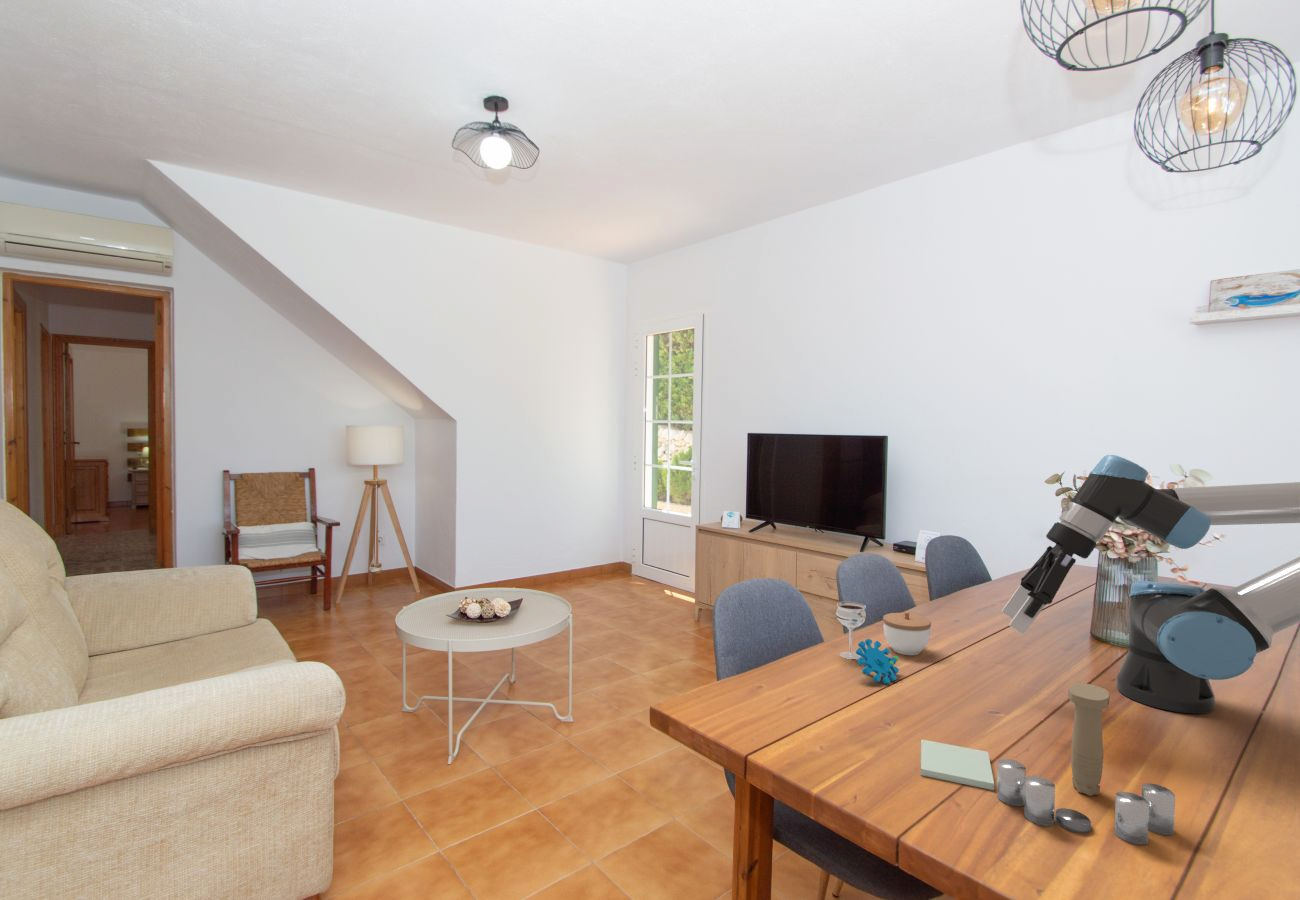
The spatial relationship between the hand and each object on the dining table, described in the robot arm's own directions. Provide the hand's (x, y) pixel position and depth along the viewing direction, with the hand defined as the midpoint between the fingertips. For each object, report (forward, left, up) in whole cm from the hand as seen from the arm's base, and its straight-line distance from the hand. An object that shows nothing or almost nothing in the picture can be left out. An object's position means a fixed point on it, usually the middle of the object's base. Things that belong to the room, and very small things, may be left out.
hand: (1011, 622), depth 121 cm
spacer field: (-5, +37, -16) cm, 41 cm away
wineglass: (+31, -14, -16) cm, 38 cm away
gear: (+24, -3, -16) cm, 30 cm away
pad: (+11, +30, -16) cm, 36 cm away
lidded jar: (+19, -23, -16) cm, 34 cm away
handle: (-7, +29, -16) cm, 34 cm away
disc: (-3, +39, -16) cm, 43 cm away
